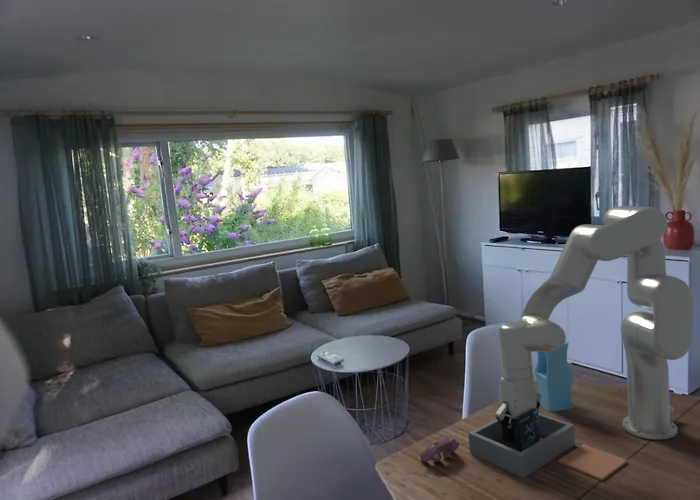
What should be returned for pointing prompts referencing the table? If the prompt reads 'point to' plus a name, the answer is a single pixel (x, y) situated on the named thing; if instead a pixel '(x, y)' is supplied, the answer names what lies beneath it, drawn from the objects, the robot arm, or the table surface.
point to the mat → (592, 462)
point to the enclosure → (529, 459)
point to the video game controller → (439, 449)
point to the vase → (554, 379)
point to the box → (525, 431)
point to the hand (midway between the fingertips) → (520, 434)
